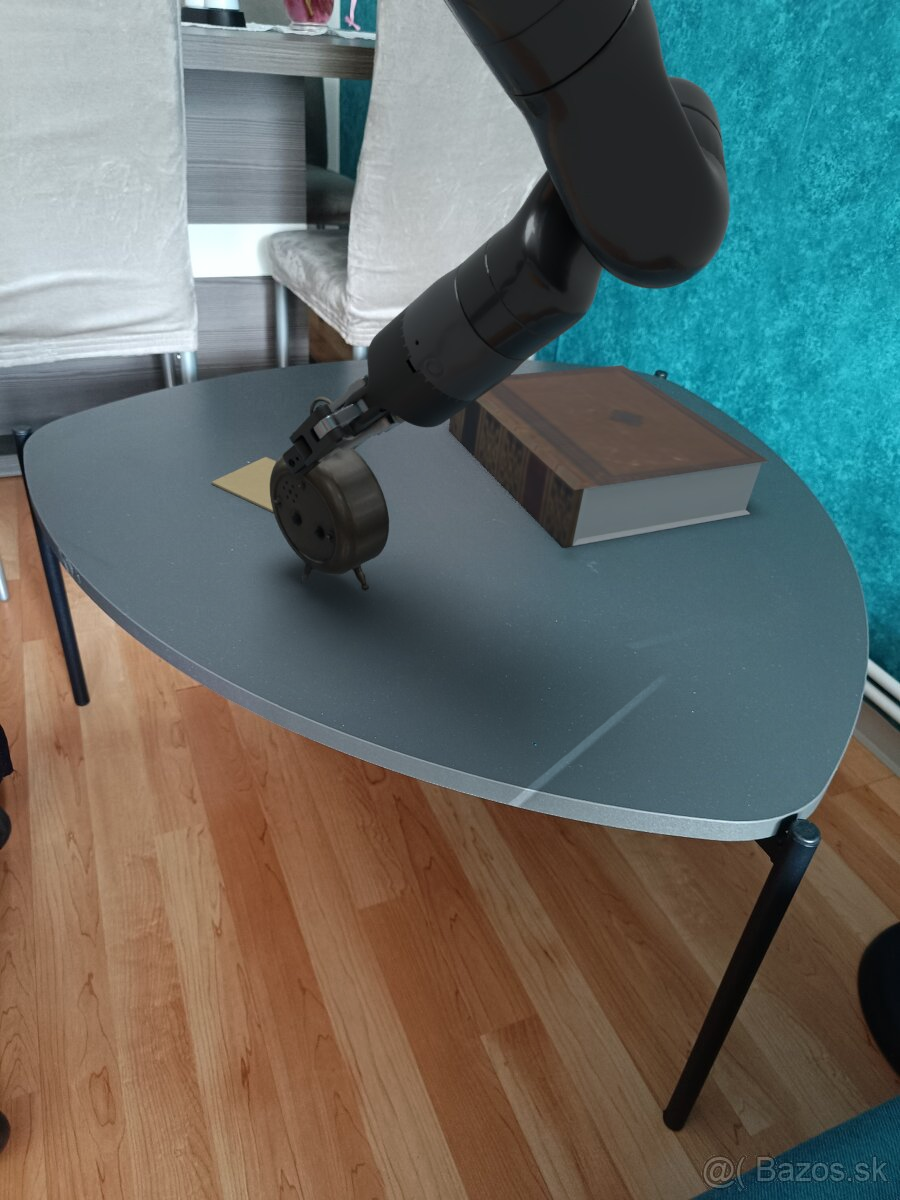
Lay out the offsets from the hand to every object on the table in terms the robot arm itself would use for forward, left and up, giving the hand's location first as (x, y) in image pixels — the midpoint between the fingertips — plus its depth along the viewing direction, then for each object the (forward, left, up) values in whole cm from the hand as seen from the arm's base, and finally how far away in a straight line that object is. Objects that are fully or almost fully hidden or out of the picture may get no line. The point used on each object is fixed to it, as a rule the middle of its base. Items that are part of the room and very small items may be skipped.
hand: (315, 454), depth 67 cm
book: (+39, -9, -13) cm, 42 cm away
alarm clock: (0, -1, -11) cm, 11 cm away
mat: (+11, +14, -13) cm, 22 cm away
